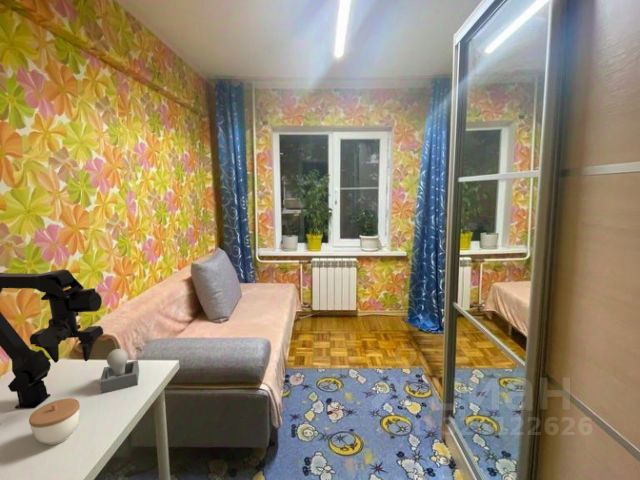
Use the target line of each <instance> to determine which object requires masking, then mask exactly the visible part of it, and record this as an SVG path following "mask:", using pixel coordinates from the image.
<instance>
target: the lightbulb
mask: <svg viewBox="0 0 640 480" xmlns="http://www.w3.org/2000/svg"><path fill="white" fill-rule="evenodd" d="M106 357H107V358H106V363H107V365H108V366H110V367H111V368H112V369H113V371H114V374H115V377H117V376H122V375H124V372H125V365H126V363H127V362H128V360H129V359H128V358H129V354H128V352H127V351H126V350H124V349H122V348H115V349H113V350H111V351H110V352H109V353H108V355H107V356H106Z"/></svg>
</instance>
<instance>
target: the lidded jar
mask: <svg viewBox="0 0 640 480" xmlns="http://www.w3.org/2000/svg"><path fill="white" fill-rule="evenodd" d="M80 420H81V408H80V401H79V400H78V399H76V398H67V397H66V398H62V399H57V400H53V401H51V402H48V403H46V404H44V405H42V406H40V407H39V408H37V409H36V410H34V411H33V412H32V413H31V414H30V416H29V418H28V423H29V426H30V429H31V432H32V434H33V436H34V438H35V439H36V440H37V441H39V442H40V443H43V444H46V445H49V446H52V445H58V444H60V443H63V442H65V441H66V440H68V439H69V438H71V436H72V435H73V434H74V432H75V431H76V429H77V428H78V426H79V423H80Z"/></svg>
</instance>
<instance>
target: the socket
mask: <svg viewBox="0 0 640 480" xmlns="http://www.w3.org/2000/svg"><path fill="white" fill-rule="evenodd" d="M139 376H140V366H139V360H138V359H137V360H132V361H127V362H126V365H125V372H124V375H122V376H117V377H115V374H114V371H113V369H112V368H111V367H110V366H109V365H108V366H106V367H105V366H104V367H103V370H102V373H101V376H100V380H99V387H100V393H101V395H102V394H106V393H110V392H114V391H118V390H123V389H126V388H132V387H135V386H138V385H139Z"/></svg>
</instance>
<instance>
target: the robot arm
mask: <svg viewBox="0 0 640 480" xmlns="http://www.w3.org/2000/svg"><path fill="white" fill-rule="evenodd" d="M3 289H32V290H37V291H38V292H40V293H44V295H42V296H41V298H40V300H41V301H48V303H49V308H50V314H51V318H49V319H48V327H46V328H41V329H40V330H37V331H35V332H34V333H32V334H31V335H30V336H29V343H30V345H34V346H35V347H36V348H37V347H39V348H40V349H39V350H38V351H36V350H34V349H31V348H30V347H29V346H28V344H27V343H26V342H25V341H24V340H23V338H22V337H21V336H20V334H19V333H18V332H17V331H16V329H15V328H14V327H13V325H12V324H11V323H10V322H9V321H8V319H7V318H6V316H4V315H3V313H2V312H1V311H0V347H1V349H2V350H3V351H4V352H5V353H6V356H8V358H9V359H10V360H11V372H12V373H13V375H14V378H13V379H12V380H11V382H10V383H9V384H8V385H7V388H8V389H9V391H10V393H12V392H13V393H15V392H16V394H17V401H18V404H16V405H15V406H14V408H15V409H33V408H34V409H35V408H37V407H39V405H40V406H41V404H42V403H44V402H45V401H46V400H47V399H48V398H50V397H51V393H48V389H47V386H46V385H45V381H44V379H45V378H46V377H48V375H49V371H50V370H51V366H52V364H51V361H50V359H52V361H53V362H54V363H55V364H56V363H58V362H59V360H60V359H59V357H60V352H59V351H60V350H59V347H60V346H59V345H60V344H61V342H62V341H66V340H68V339H75V338H78V341H80V342H79V343H78V345H79V346H80V347H81V348H82V349H81V350H82V355H83V361H84V362H87V361H89V359H90V356H91V353H92V350H93V347H94V344H95V342H96V340H97V339H99V338H100V337H102V335H104V329H103V327H102V326H101V325H95V326H94V325H93V326H92V325H91V326H87V327H86V328H84V329H83V330H80V329H81V328H82V327H81V324H78V321H77V320H78V319H77V317H78V316H79V315H80V314H79V313H93V312H94V313H95V312H98V311H99V310H100V309H101V306H102V303H103V302H102V301H103V300H102V296H101V295H100V293H99V292H97V291H96V288H94V287H93V288H87V289H85V287H84V285H82V284H81V283H80V282H79V281H78V280H77V278H75V277H74V275H73V274H72V273H71V272H70V270H68V269H65V268H64V269H57V270H51V271H47V272H42V273H41V272H40V273H20V272H19V273H16V272H15V273H10V272H9V273H8V272H7V273H5V272H0V294H1V293H2V292H3ZM42 349H44V350H45V351H44V350H42ZM45 352H46V353H47V354H48V355H49V357H48V355H47V354H46V353H45Z"/></svg>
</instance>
